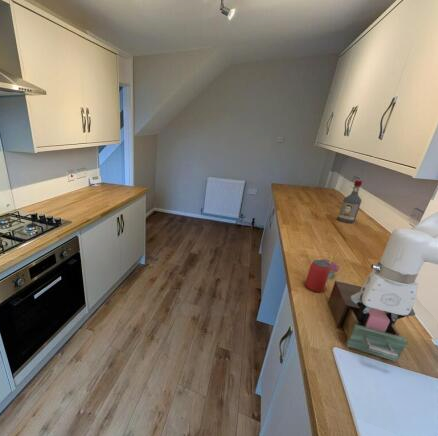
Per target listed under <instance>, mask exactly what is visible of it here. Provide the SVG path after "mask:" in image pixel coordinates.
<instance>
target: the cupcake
mask: <svg viewBox="0 0 438 436" xmlns="http://www.w3.org/2000/svg"><path fill="white" fill-rule="evenodd" d="M334 257H335V253H333V254H332V255H331V257H330V259H326V258H325V259H321V260H322V261H325V262H327V263H328V264H329V265H330V272H329V275H328V278H327V279H329V278H332V277H333V275H334V274H336V273H339V271H340V267H339V265H338V264H337V263H335V262H334V261H333V259H334Z"/></svg>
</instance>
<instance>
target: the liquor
mask: <svg viewBox="0 0 438 436" xmlns="http://www.w3.org/2000/svg"><path fill="white" fill-rule="evenodd" d="M362 183H363V181H362V180H355V182H354V184H353V189H352V192H351V193H350V194H349V195H348V196H346V197H344V199H343V200H342V203H341V207H340V210H339V213H338V216H337V221H338V222H341V221H342V222H341V223H345V222H346V223H345V224H353V223H354V222H355V221H356V218H357V215H358V212H359V210H360V207H361V204H362V198H361V197H360V195H359V191H360V188H361V186H362Z"/></svg>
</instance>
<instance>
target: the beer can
mask: <svg viewBox="0 0 438 436" xmlns="http://www.w3.org/2000/svg"><path fill="white" fill-rule="evenodd" d="M322 260H323V259H313V261H312V263H311V264H310V265H309V269H308V272H307V276H306V278H305V283H304V285H305V287H306V288H307V289H308V290H310V291H311V292H315V293H321V292H324V290H325V287H326V284H327V282H328V279H329V278H328V275H329V272H330V265H329V264H328V263H327V262H325V261H322Z"/></svg>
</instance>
